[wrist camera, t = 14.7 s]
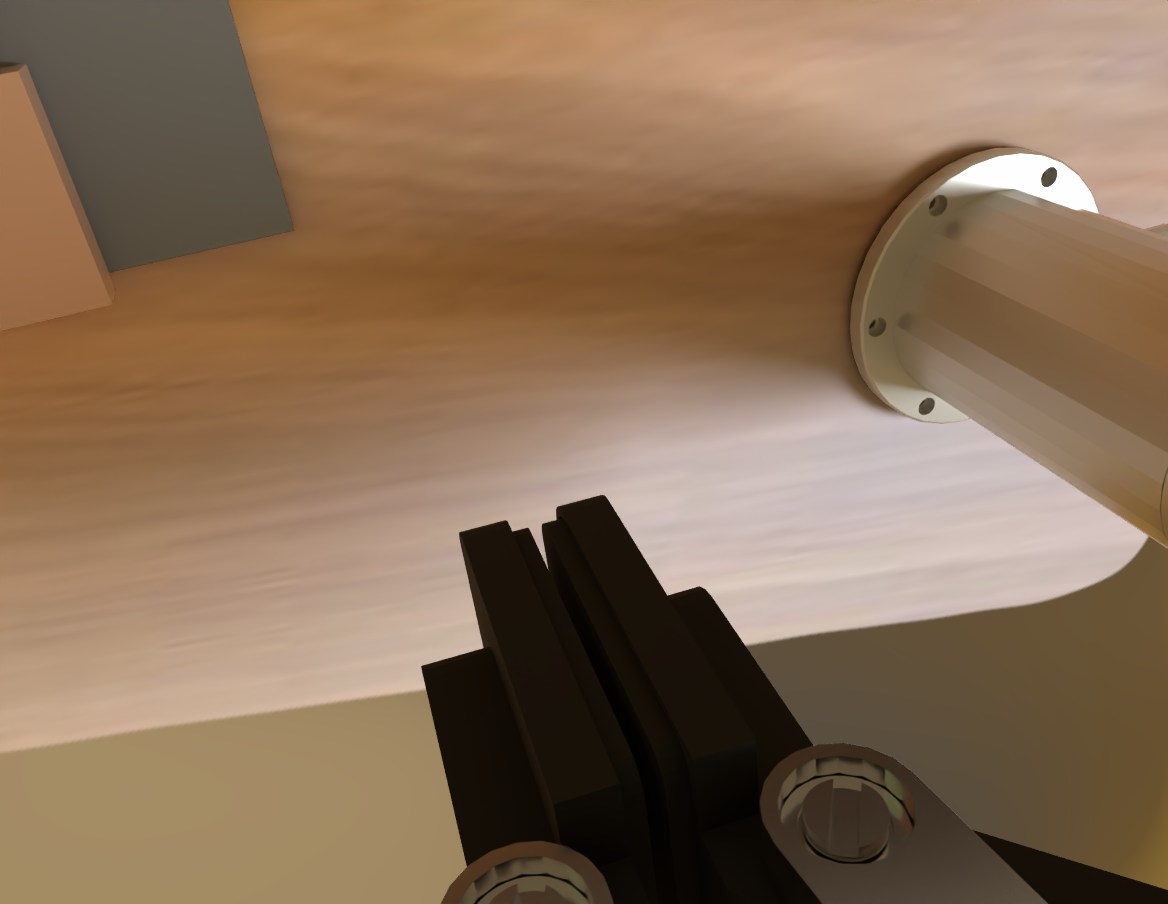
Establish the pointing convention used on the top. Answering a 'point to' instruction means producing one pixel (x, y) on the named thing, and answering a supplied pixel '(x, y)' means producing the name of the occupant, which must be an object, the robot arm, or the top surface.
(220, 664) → the top surface
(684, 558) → the top surface
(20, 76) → the tile terracotta
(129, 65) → the mat
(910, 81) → the top surface
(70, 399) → the top surface
